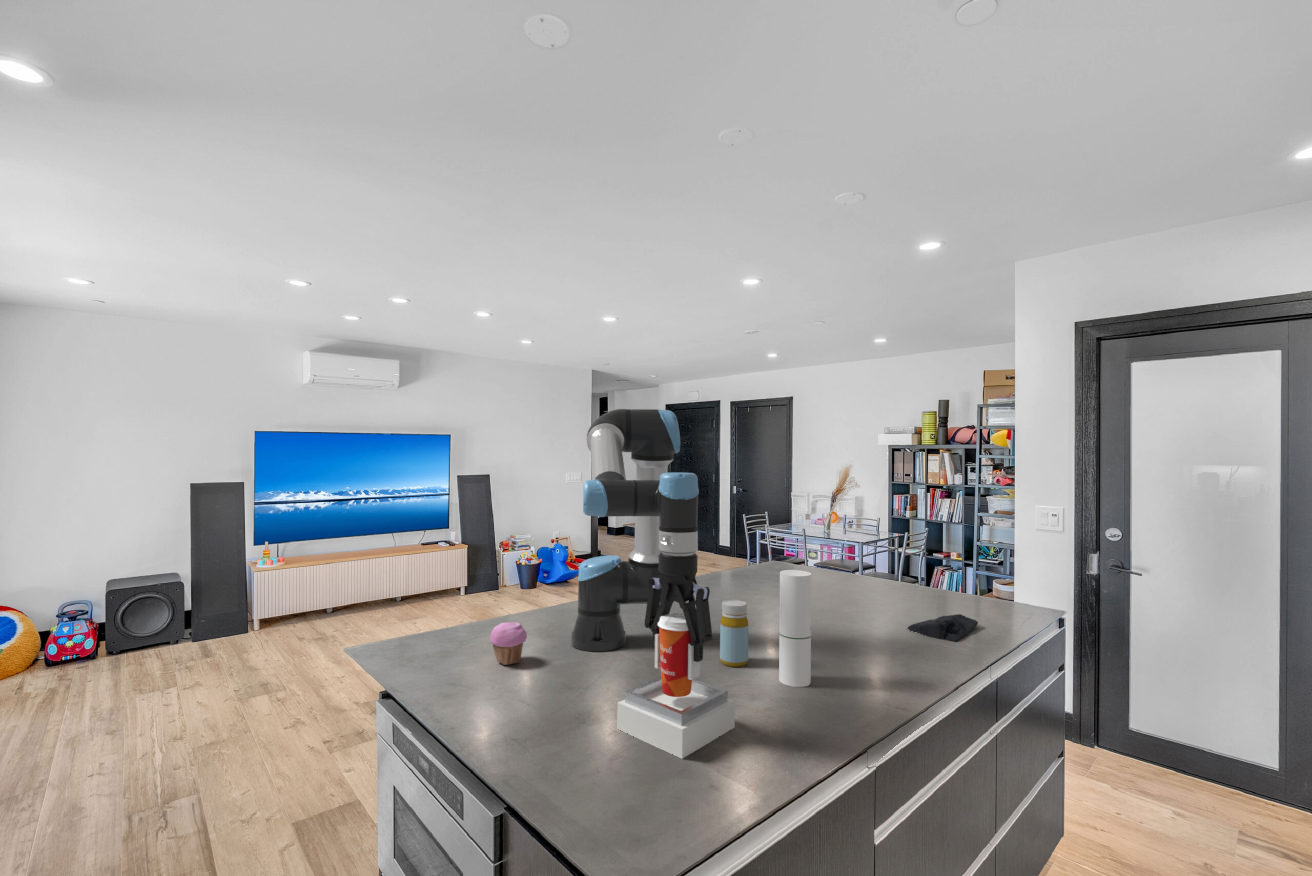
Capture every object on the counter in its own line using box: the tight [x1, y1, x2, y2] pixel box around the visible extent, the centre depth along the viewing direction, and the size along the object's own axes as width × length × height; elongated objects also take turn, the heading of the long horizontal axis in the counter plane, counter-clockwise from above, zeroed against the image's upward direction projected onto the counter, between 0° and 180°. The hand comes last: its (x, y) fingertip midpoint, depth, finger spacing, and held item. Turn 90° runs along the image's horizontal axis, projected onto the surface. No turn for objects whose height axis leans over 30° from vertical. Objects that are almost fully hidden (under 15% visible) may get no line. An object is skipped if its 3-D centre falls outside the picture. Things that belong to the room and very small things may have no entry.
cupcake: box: [489, 621, 528, 666], centre depth 147 cm, size 9×9×10 cm
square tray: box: [616, 676, 736, 760], centre depth 114 cm, size 16×16×7 cm
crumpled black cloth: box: [907, 613, 979, 642], centre depth 179 cm, size 15×22×5 cm
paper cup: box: [658, 613, 692, 697], centre depth 114 cm, size 8×8×14 cm
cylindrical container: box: [778, 569, 812, 688], centre depth 138 cm, size 7×7×25 cm
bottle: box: [719, 599, 749, 668], centre depth 149 cm, size 7×7×15 cm
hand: (676, 671), depth 114 cm, fingers closed on paper cup, 8 cm apart
